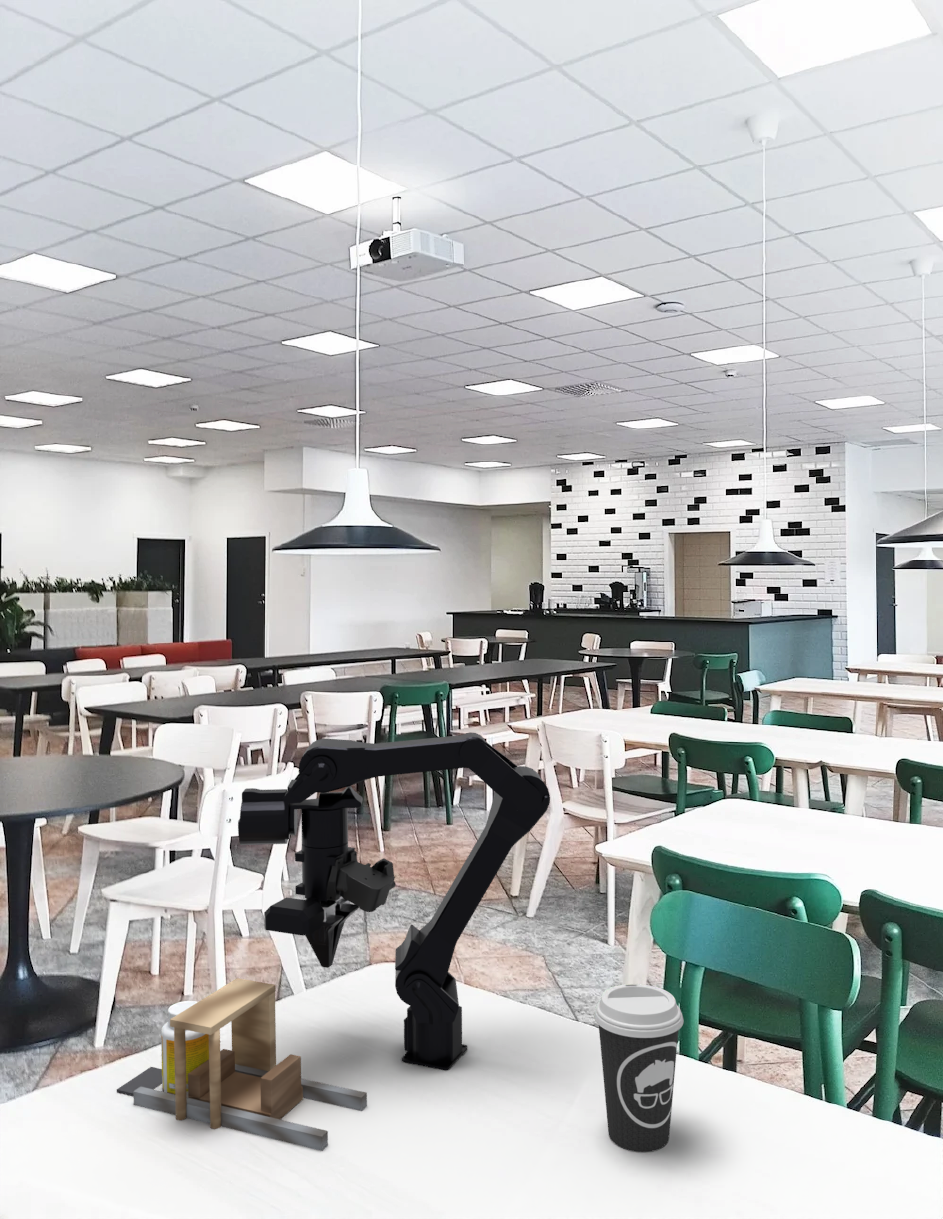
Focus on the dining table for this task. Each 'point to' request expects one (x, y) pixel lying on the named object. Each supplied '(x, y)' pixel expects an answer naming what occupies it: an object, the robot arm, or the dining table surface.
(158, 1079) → the pad
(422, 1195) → the dining table surface
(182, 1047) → the tunnel track
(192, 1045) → the supplement bottle
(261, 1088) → the sled
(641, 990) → the coffee cup
